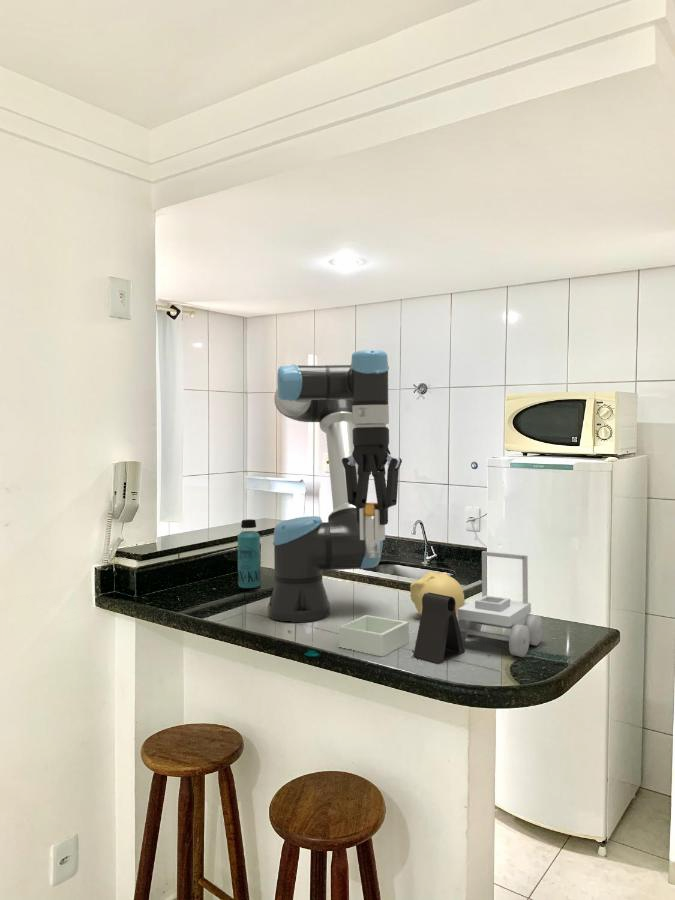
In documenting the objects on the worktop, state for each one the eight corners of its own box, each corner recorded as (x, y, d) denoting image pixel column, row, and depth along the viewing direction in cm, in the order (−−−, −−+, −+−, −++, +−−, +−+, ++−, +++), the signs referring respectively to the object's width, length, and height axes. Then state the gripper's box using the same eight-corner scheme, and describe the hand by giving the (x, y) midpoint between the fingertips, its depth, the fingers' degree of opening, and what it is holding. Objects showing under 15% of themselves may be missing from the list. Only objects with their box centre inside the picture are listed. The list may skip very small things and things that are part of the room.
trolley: (446, 647, 142) (445, 559, 142) (474, 630, 154) (473, 549, 153) (518, 660, 134) (518, 567, 133) (543, 641, 145) (542, 555, 144)
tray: (338, 647, 143) (338, 627, 143) (366, 634, 152) (366, 614, 152) (382, 656, 137) (382, 635, 137) (408, 642, 146) (408, 622, 146)
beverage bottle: (238, 588, 197) (236, 518, 197) (261, 587, 198) (260, 517, 197) (237, 594, 191) (235, 521, 190) (261, 592, 192) (260, 520, 191)
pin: (362, 556, 143) (361, 503, 143) (370, 554, 146) (369, 502, 146) (374, 558, 142) (374, 504, 141) (382, 555, 144) (381, 503, 144)
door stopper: (438, 664, 132) (437, 601, 132) (413, 657, 137) (412, 596, 136) (465, 652, 139) (464, 593, 138) (440, 646, 143) (439, 588, 143)
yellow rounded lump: (433, 608, 173) (433, 565, 172) (473, 617, 164) (473, 572, 164) (403, 617, 165) (402, 572, 164) (443, 627, 156) (442, 580, 156)
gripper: (328, 427, 145) (330, 539, 145) (395, 425, 135) (397, 545, 136) (348, 426, 151) (350, 534, 151) (413, 425, 141) (415, 540, 142)
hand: (372, 539), depth 144 cm, fingers closed on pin, 3 cm apart
